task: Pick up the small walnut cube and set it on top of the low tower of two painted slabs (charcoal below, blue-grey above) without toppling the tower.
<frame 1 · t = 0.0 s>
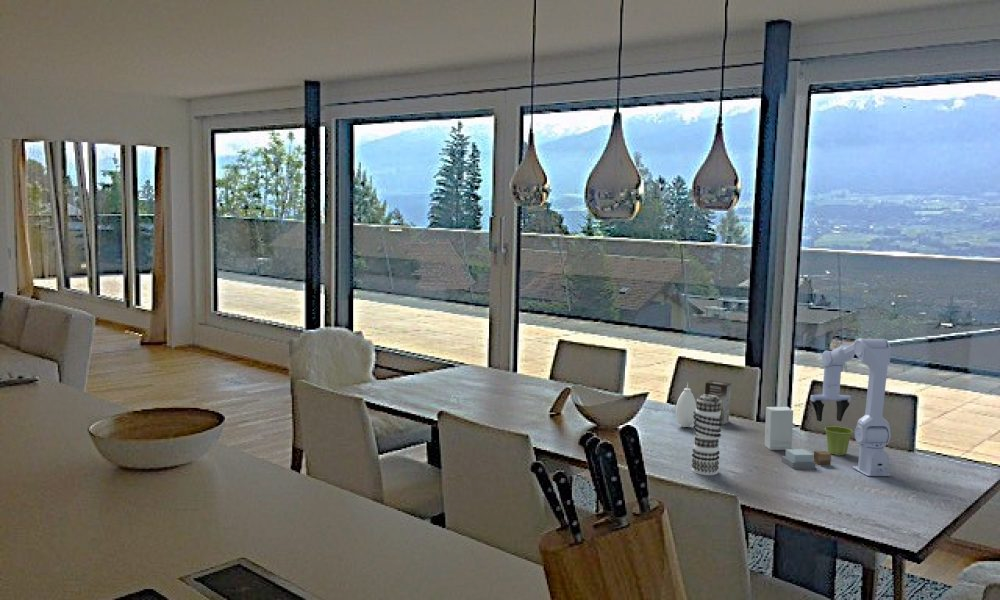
hand: (829, 420, 306), 10 cm above the table, tool pointing down, fingers open, 7 cm apart
base slab: (798, 466, 285), on the table, touching top slab
walnut cube: (821, 464, 287), on the table
plant pot: (837, 454, 300), on the table
sauce bottle: (685, 427, 331), on the table
skincare box: (777, 448, 305), on the table
decorative candle: (704, 471, 274), on the table
top slab: (799, 459, 284), point 2 cm above the table, touching base slab
coffee box: (715, 421, 342), on the table
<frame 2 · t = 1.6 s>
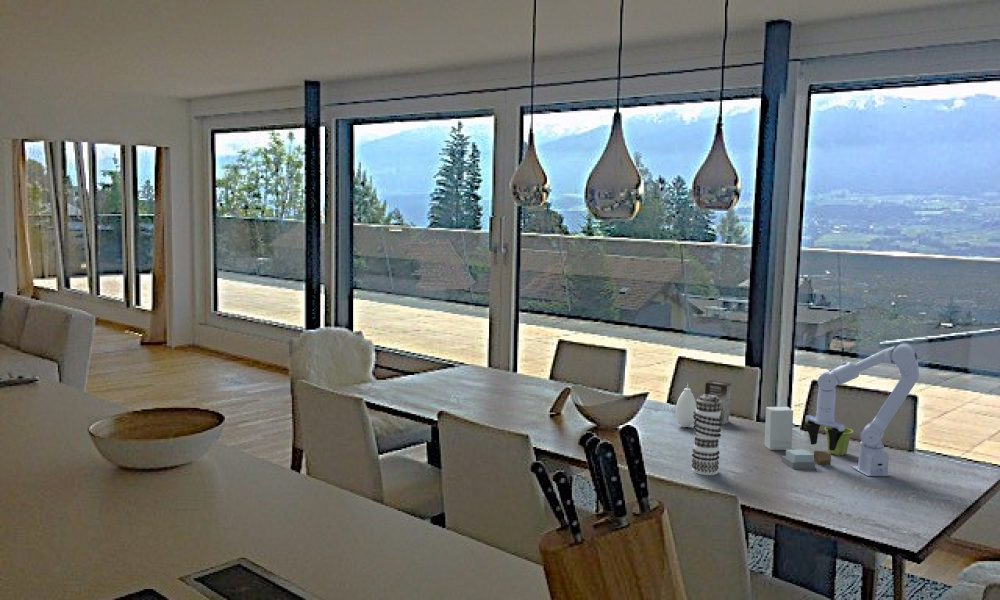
hand: (822, 446, 286), 6 cm above the table, tool pointing down, fingers open, 7 cm apart
nothing on the table moved.
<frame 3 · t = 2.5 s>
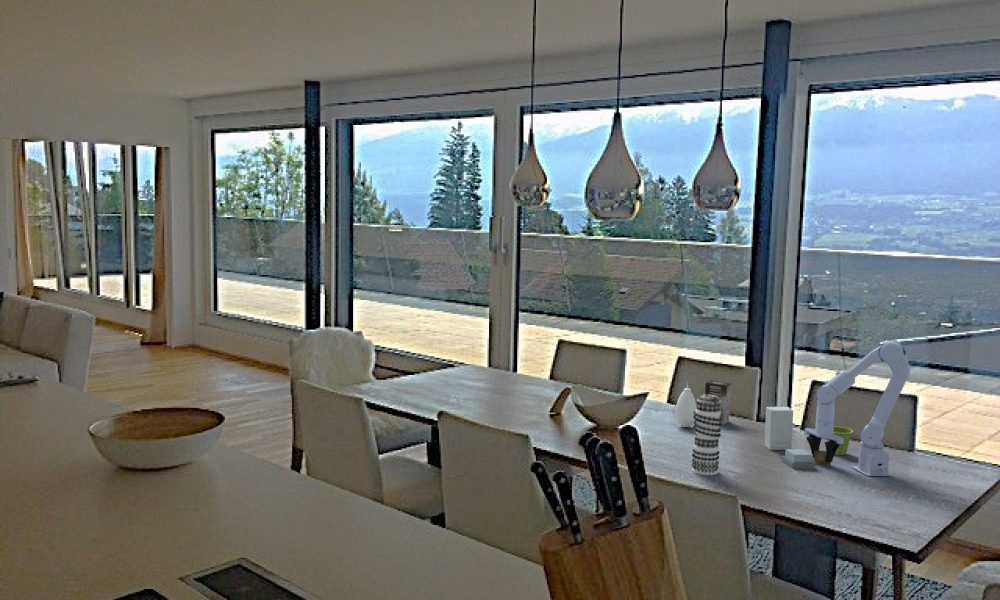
hand: (822, 459, 287), 1 cm above the table, tool pointing down, fingers closed on walnut cube, 5 cm apart
walnut cube: (821, 463, 287), on the table, touching gripper
everything else where it was.
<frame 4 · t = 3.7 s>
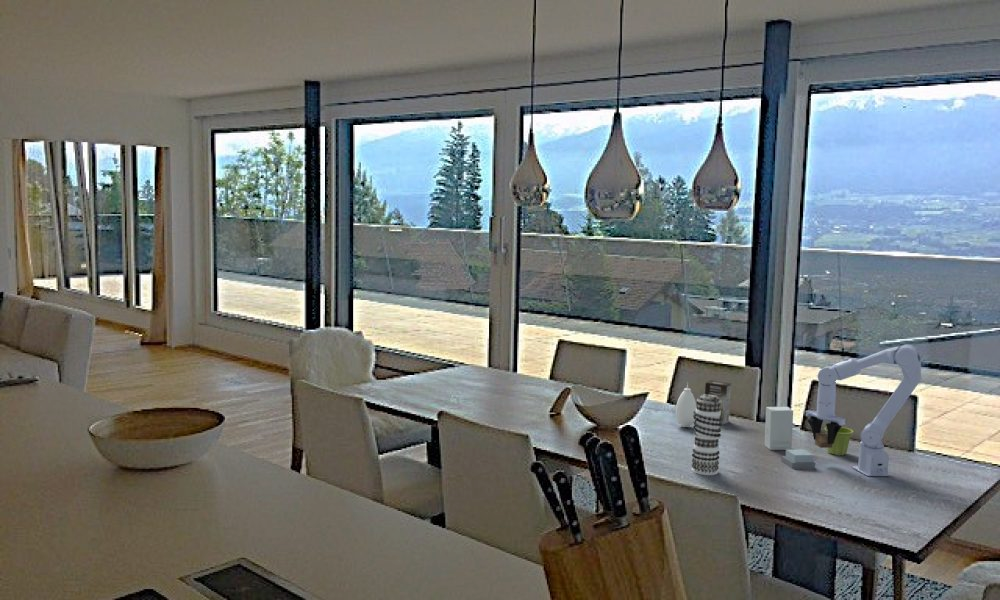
hand: (823, 441, 286), 8 cm above the table, tool pointing down, fingers closed on walnut cube, 5 cm apart
base slab: (797, 466, 285), on the table
walnut cube: (823, 445, 286), point 6 cm above the table, touching gripper
top slab: (799, 459, 284), point 2 cm above the table
everything else where it was.
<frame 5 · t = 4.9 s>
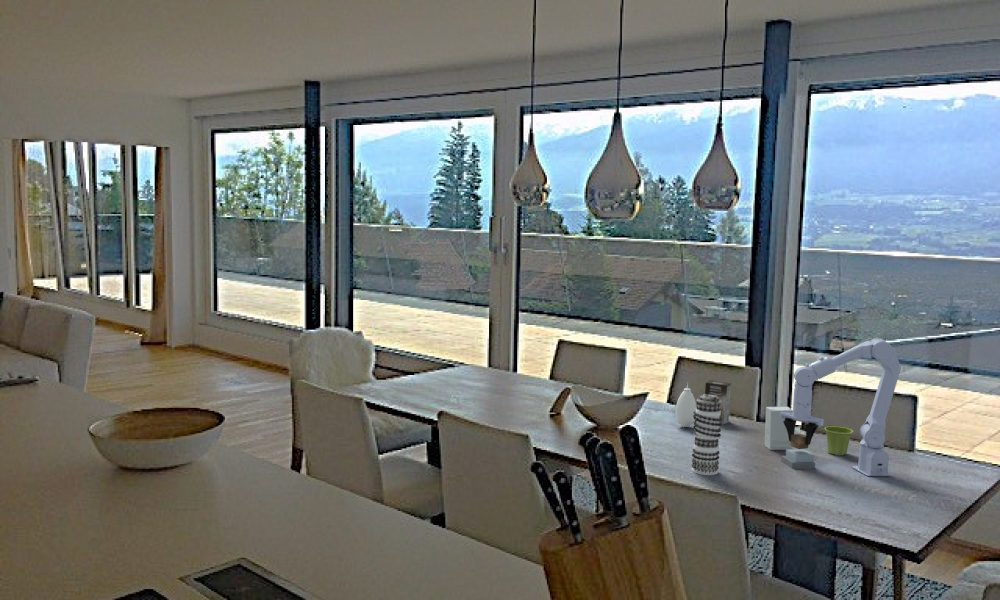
hand: (799, 442, 284), 8 cm above the table, tool pointing down, fingers closed on walnut cube, 5 cm apart
base slab: (797, 466, 285), on the table, touching top slab
walnut cube: (799, 447, 284), point 6 cm above the table, touching gripper
top slab: (799, 459, 284), point 2 cm above the table, touching base slab
everything else where it was.
when the fingers open (7 cm above the table, at t = 5.4 s): walnut cube drops 1 cm, resting on top slab.
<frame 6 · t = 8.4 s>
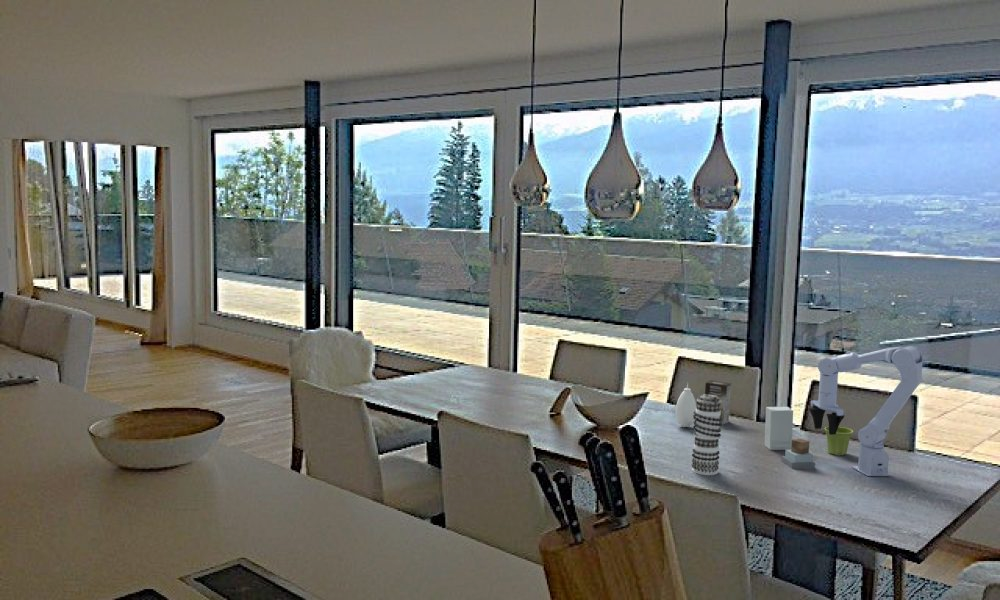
hand: (825, 431, 289), 10 cm above the table, tool pointing down, fingers open, 7 cm apart
walnut cube: (799, 452, 284), point 4 cm above the table, touching top slab
top slab: (798, 459, 284), point 2 cm above the table, touching base slab, walnut cube
everything else where it was.
at the end: walnut cube 0.4 cm off-centre on the top slab, point 2.5 cm above the top slab's base; top slab tilted 0°; top slab moved 0.8 cm from its start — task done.
